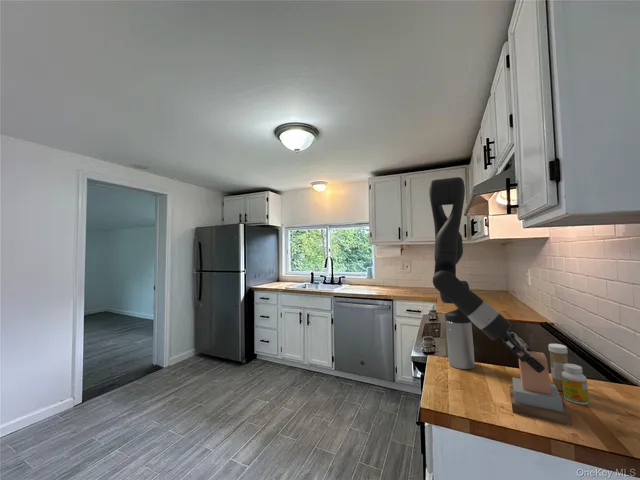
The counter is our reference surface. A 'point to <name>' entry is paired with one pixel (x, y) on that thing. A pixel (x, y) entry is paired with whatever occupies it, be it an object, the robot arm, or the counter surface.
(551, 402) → the grey slab
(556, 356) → the sprinkles bottle
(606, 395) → the counter surface
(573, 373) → the supplement bottle
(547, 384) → the terracotta block
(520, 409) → the walnut slab
